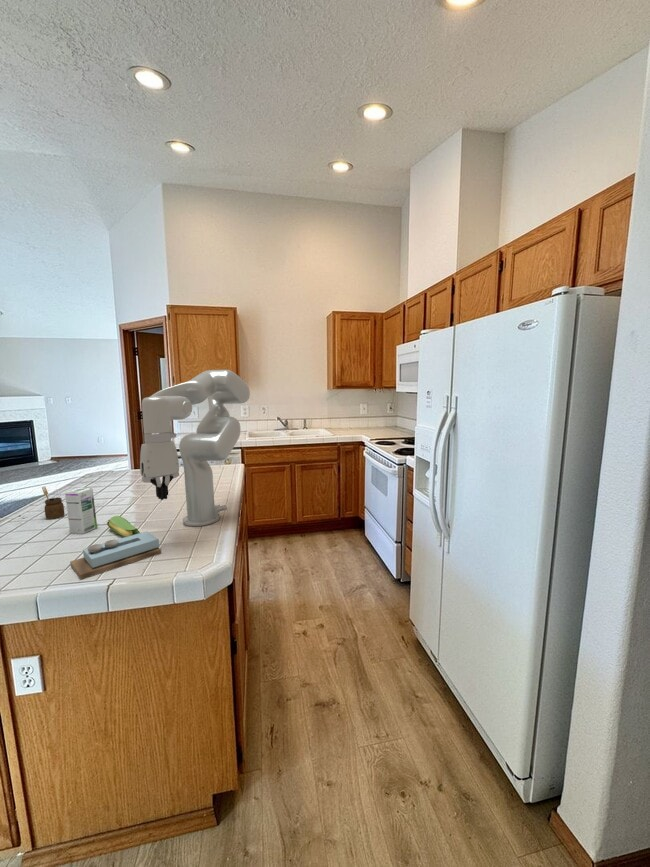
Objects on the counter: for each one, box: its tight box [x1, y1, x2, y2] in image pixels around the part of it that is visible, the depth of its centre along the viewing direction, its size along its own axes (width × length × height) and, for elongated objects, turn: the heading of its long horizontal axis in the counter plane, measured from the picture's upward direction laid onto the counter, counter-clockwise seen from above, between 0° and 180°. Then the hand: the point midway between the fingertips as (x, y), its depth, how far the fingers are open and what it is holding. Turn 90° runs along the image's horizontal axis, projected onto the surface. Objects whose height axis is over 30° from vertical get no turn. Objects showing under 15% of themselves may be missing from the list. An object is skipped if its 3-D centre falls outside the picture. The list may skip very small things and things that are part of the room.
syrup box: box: [64, 487, 98, 535], centre depth 125 cm, size 6×6×14 cm
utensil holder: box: [41, 486, 65, 520], centre depth 140 cm, size 6×6×12 cm
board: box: [69, 539, 162, 580], centre depth 103 cm, size 20×11×5 cm, turn 135°
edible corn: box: [106, 515, 141, 538], centre depth 122 cm, size 5×20×5 cm
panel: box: [82, 531, 160, 568], centre depth 104 cm, size 17×9×2 cm, turn 135°
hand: (162, 498), depth 111 cm, fingers closed
